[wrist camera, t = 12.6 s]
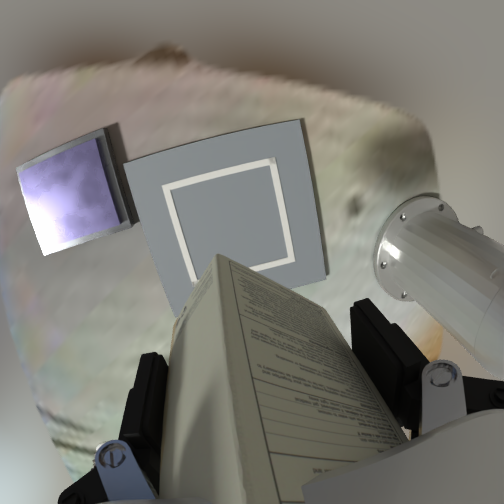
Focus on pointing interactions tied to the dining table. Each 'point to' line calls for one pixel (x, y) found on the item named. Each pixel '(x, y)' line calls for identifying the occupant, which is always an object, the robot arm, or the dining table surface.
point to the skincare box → (262, 394)
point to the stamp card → (230, 208)
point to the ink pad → (75, 193)
